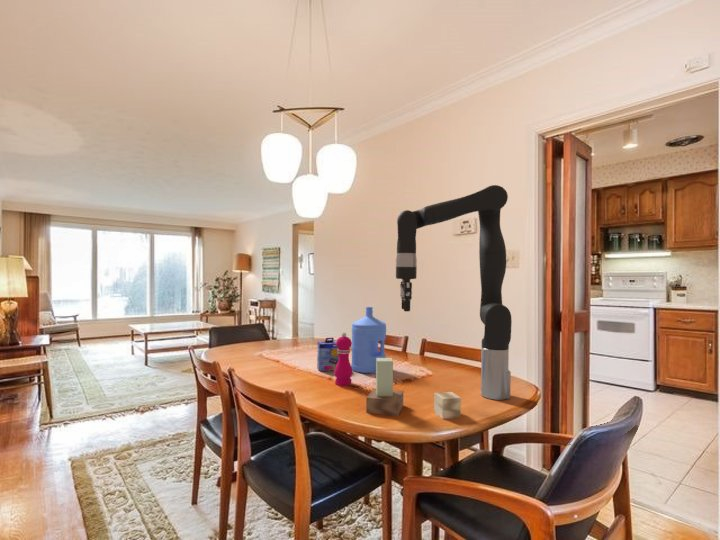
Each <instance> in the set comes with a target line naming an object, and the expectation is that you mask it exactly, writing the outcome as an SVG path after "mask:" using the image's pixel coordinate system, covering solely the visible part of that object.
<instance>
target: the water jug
mask: <svg viewBox="0 0 720 540" xmlns="http://www.w3.org/2000/svg"><path fill="white" fill-rule="evenodd" d="M373 309H374V308H373V307H371V306H366V307H365V316H363V317H362V318H360V319H357V320H356V321H354V322H352V324H351V325H352V326H351V342H352V344H351V347H350V350H351V363H350V365H351V367H352V370H353V371H354V372H356V373H359V372H361V373H360V374H376V358H387V357H386V355H387V354H386V353H385V341H386V338H387V324H386V322H384V321H381V320H379V319H378V318H376V317H374V315H373V313H374V311H373ZM379 342H380V344H379ZM379 345H380V347H379ZM379 348H380V349H379Z"/></svg>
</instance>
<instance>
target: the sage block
mask: <svg viewBox="0 0 720 540" xmlns="http://www.w3.org/2000/svg"><path fill="white" fill-rule="evenodd" d="M375 374H376V375H375V378H376V379H375V381H376V383H375V386H376V387H375V389H376V393H377V396H393V390H394V361H393V358H392V357H386V358H376V373H375Z"/></svg>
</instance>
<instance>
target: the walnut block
mask: <svg viewBox="0 0 720 540" xmlns="http://www.w3.org/2000/svg"><path fill="white" fill-rule="evenodd" d="M365 403H366V404H365V405H366V406H365V407H366V409H365V411H366V414H367V413H368V414H374V415H375V414H376V415H385V416H392V417H398V416H399V415H400V414H401V411H402V409H403V407H404V390H395V389H393V396H377V393H376V387H374V388H373V389H372V390H371V392H370V393H369V394H368V395H367V396H366V401H365Z"/></svg>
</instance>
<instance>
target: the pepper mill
mask: <svg viewBox="0 0 720 540" xmlns="http://www.w3.org/2000/svg"><path fill="white" fill-rule="evenodd" d="M336 341H337V342H336V345H337V347H338V353H339V359H338V363H337V365H336V367H335V370H333V373H334V376H335V377H336V378H335V385H337V386H340V387H347V386H350V385H352V378H351V377H352V376H353V375H354V374H353V373H354V372H353V371H354V370H352V367H351V363H350V353H351V347H352V338H350V337H348V336H347V333H346V332H342V333H341V336H340V337H338V339H337V340H336Z"/></svg>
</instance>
